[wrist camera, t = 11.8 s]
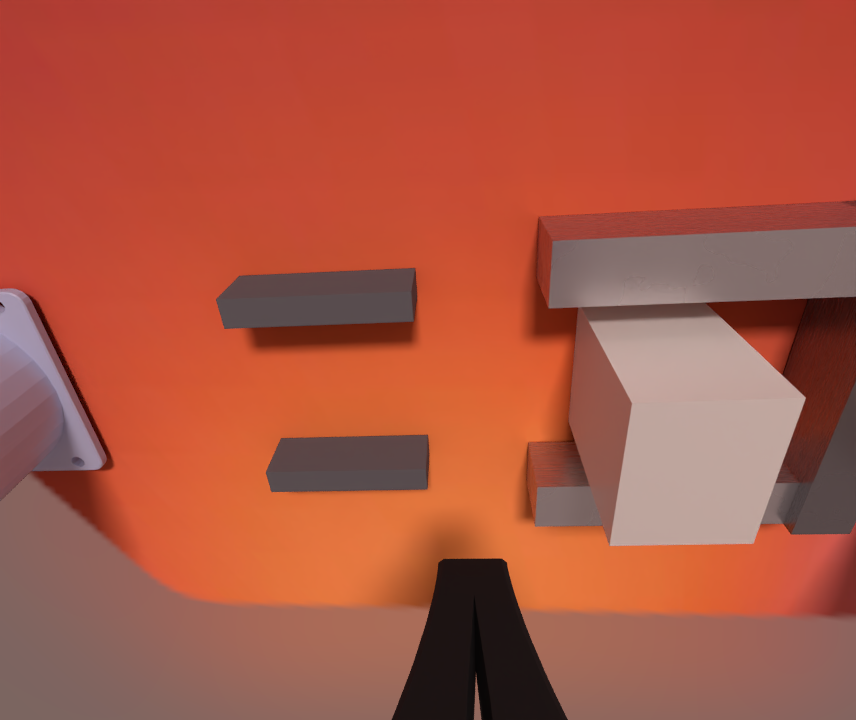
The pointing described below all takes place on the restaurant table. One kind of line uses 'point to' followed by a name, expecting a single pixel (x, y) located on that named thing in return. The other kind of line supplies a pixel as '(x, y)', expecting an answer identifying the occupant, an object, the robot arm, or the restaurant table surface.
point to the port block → (722, 282)
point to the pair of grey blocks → (330, 305)
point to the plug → (677, 424)
